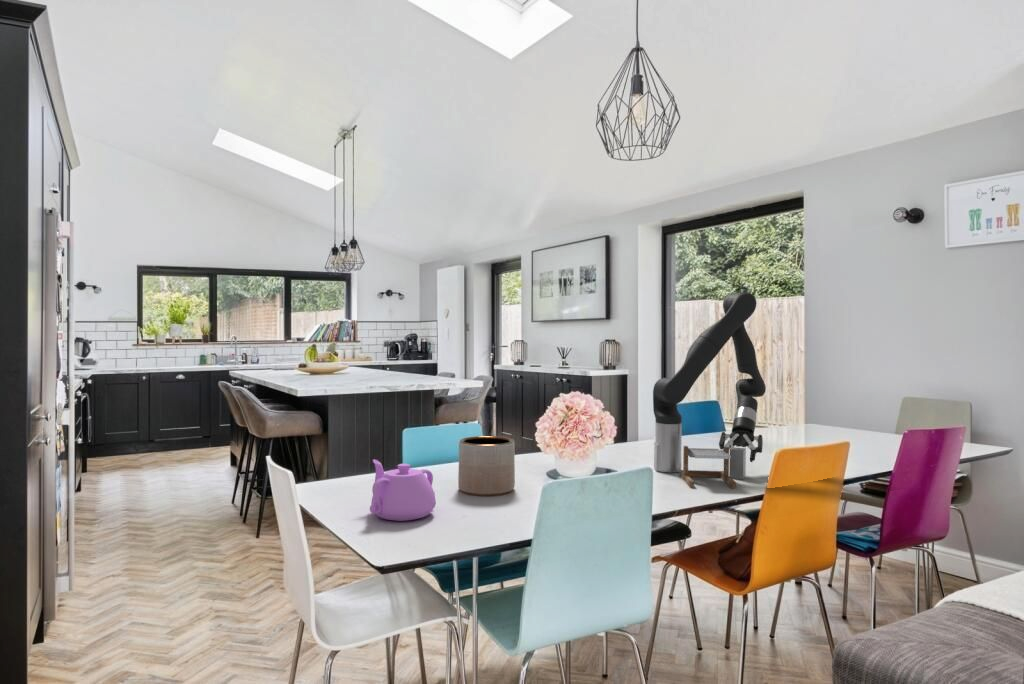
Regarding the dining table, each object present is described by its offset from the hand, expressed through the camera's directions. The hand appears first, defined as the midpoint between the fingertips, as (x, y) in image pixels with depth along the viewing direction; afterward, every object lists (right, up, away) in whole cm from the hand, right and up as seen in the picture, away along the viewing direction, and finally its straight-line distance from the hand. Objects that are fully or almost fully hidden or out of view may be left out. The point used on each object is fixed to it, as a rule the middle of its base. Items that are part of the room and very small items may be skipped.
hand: (738, 459), depth 228 cm
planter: (-86, -6, -20) cm, 89 cm away
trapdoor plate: (-13, +1, -8) cm, 15 cm away
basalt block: (0, -6, 0) cm, 6 cm away
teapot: (-109, -7, -48) cm, 119 cm away
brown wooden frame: (-13, -6, -8) cm, 16 cm away
